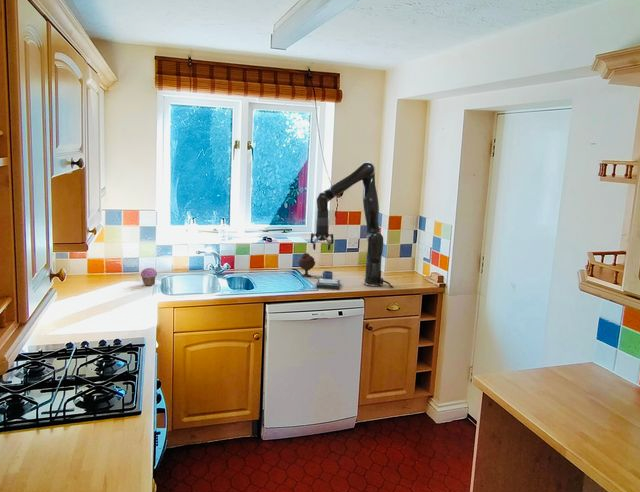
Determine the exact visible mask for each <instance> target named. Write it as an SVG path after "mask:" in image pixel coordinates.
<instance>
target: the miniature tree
mask: <svg viewBox="0 0 640 492" xmlns="http://www.w3.org/2000/svg"><path fill="white" fill-rule="evenodd" d="M297 262H298V265H299V268H301V269H302V270H304V273H303V274H302V275H301V277H303V278H311V274H309V271H310V270H312V269H313V268H314V267H315V265H316V261H315V258H314V257H313V256H311V255H310V253H308V252H304V253H302V255H301V257H300V259H299V260H298V261H297Z"/></svg>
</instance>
